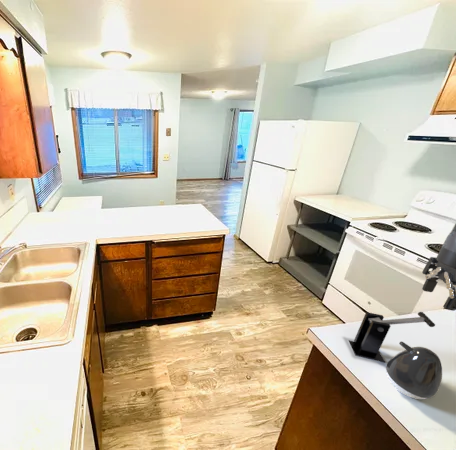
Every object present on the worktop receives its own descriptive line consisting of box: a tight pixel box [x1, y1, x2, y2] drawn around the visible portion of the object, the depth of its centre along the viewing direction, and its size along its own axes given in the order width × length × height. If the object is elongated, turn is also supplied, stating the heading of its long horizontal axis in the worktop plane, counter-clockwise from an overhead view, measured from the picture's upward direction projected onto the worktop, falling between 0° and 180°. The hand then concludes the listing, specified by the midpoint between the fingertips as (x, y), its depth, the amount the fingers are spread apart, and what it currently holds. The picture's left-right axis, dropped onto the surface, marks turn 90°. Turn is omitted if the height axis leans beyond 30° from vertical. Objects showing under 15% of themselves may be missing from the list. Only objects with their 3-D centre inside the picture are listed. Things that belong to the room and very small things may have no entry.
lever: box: [368, 311, 436, 328], centre depth 74 cm, size 14×5×2 cm, turn 71°
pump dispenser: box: [385, 341, 443, 400], centre depth 66 cm, size 10×10×15 cm
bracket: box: [348, 311, 392, 364], centre depth 78 cm, size 8×8×14 cm
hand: (437, 299), depth 69 cm, fingers open, 8 cm apart
